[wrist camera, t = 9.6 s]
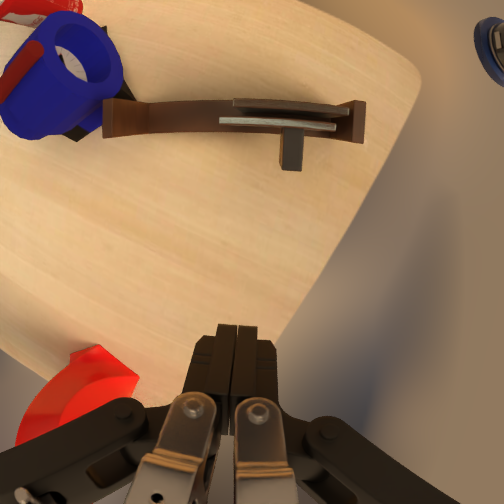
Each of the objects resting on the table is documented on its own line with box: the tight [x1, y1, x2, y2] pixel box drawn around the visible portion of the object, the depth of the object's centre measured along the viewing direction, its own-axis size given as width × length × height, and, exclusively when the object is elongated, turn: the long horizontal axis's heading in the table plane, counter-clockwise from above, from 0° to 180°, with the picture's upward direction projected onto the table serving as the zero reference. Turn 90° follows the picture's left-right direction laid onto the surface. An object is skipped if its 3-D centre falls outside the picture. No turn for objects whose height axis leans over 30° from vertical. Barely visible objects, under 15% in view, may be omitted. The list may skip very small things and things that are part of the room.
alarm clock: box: [0, 11, 136, 142], centre depth 22 cm, size 12×12×15 cm
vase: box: [15, 345, 139, 504], centre depth 33 cm, size 15×14×28 cm
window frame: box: [102, 98, 366, 144], centre depth 26 cm, size 3×21×10 cm, turn 88°
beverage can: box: [0, 0, 83, 28], centre depth 18 cm, size 6×6×15 cm
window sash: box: [219, 116, 336, 171], centre depth 26 cm, size 4×9×8 cm, turn 88°
